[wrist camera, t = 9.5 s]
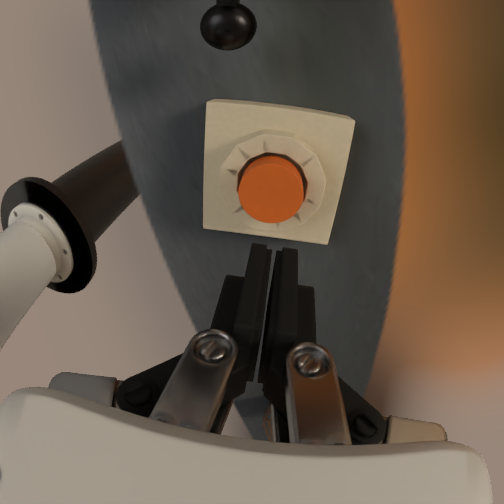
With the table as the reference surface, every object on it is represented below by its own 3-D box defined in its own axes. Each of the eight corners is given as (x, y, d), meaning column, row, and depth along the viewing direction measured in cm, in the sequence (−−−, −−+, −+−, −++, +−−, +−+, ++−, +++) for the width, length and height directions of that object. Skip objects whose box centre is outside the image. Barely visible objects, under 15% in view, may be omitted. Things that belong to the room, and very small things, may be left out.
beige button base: (208, 215, 25) (196, 240, 22) (213, 98, 20) (198, 104, 16) (324, 231, 25) (330, 258, 22) (349, 116, 19) (362, 125, 16)
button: (239, 207, 21) (236, 219, 19) (244, 152, 18) (240, 160, 17) (297, 215, 20) (297, 227, 19) (306, 160, 18) (308, 169, 17)
